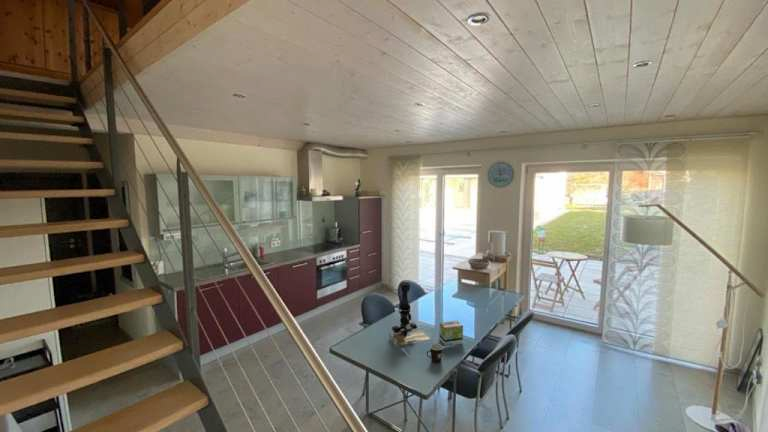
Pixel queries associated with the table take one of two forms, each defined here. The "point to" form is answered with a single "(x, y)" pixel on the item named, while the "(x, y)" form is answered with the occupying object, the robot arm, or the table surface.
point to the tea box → (451, 333)
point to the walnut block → (399, 337)
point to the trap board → (409, 338)
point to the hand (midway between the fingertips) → (404, 338)
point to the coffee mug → (436, 352)
